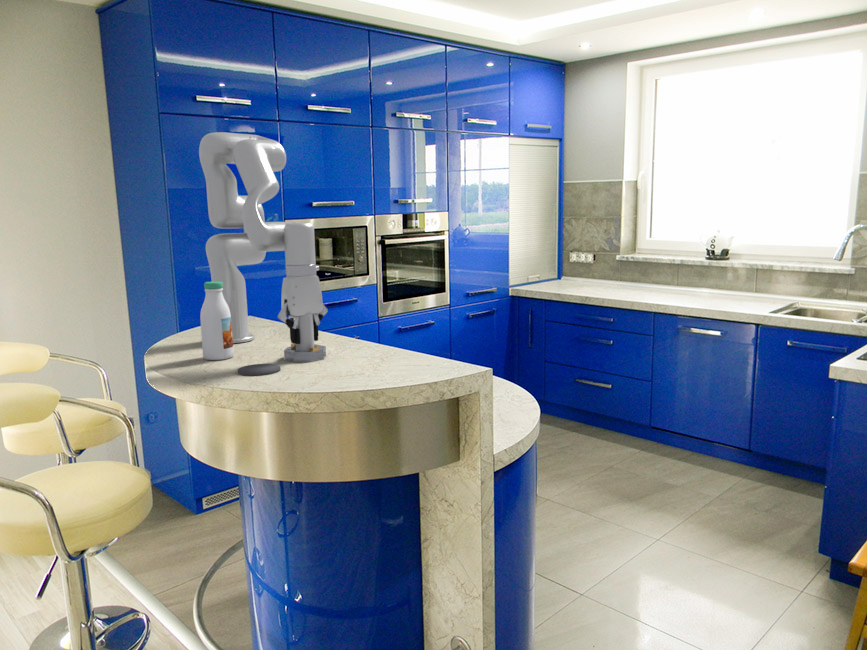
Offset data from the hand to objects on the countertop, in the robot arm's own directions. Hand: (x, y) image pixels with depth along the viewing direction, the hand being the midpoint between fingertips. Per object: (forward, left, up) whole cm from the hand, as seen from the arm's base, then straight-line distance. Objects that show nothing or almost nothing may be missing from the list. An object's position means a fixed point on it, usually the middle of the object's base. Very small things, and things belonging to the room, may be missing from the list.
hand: (304, 341), depth 177 cm
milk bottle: (-18, -15, -5) cm, 24 cm away
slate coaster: (+4, -16, -4) cm, 17 cm away
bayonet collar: (0, 0, -4) cm, 4 cm away
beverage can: (0, 0, -5) cm, 5 cm away
